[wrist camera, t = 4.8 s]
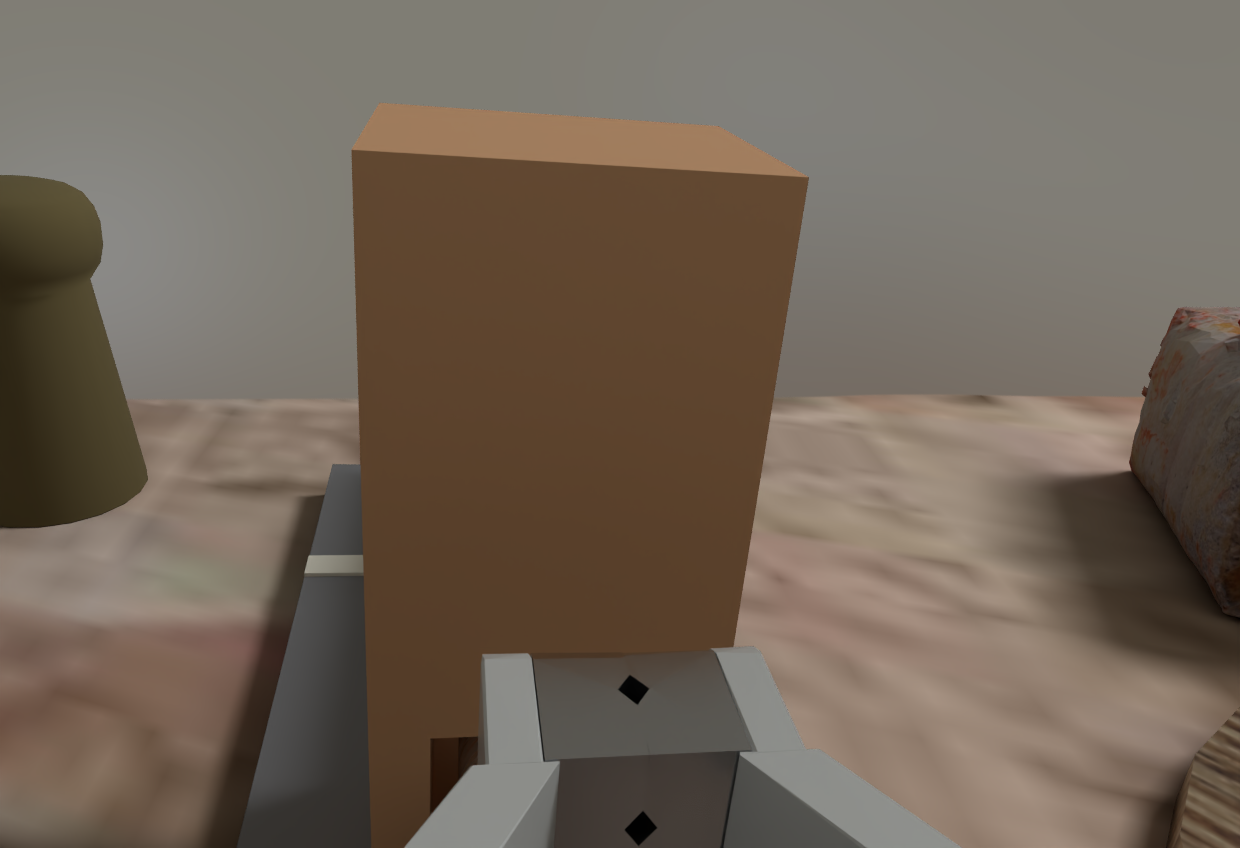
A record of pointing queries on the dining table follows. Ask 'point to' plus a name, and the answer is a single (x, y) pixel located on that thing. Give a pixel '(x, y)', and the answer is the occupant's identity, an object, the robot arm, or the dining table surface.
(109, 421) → the cork
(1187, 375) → the food item
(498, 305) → the orange brown tall block
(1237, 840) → the trivet
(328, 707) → the base board
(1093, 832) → the dining table surface
